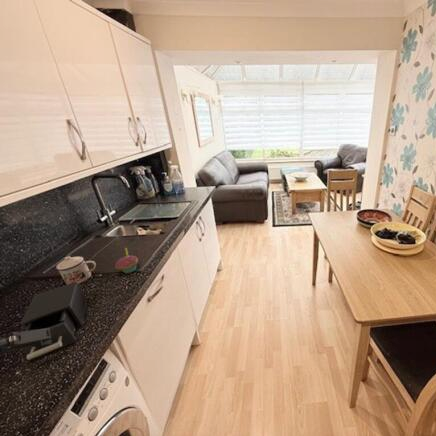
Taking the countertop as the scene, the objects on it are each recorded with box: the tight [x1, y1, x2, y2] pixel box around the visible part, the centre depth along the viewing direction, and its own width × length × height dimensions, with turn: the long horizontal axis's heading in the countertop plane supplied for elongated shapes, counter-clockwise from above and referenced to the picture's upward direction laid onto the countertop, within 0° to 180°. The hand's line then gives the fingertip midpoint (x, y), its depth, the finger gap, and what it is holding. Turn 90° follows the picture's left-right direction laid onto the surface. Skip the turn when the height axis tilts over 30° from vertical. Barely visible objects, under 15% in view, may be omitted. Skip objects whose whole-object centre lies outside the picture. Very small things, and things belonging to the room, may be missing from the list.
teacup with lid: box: [55, 255, 97, 285], centre depth 102 cm, size 12×9×12 cm
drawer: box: [20, 309, 78, 361], centre depth 73 cm, size 17×10×8 cm, turn 33°
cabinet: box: [19, 282, 88, 330], centre depth 81 cm, size 15×12×10 cm
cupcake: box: [114, 247, 139, 274], centre depth 105 cm, size 9×8×12 cm
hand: (20, 350), depth 58 cm, fingers open, 10 cm apart
